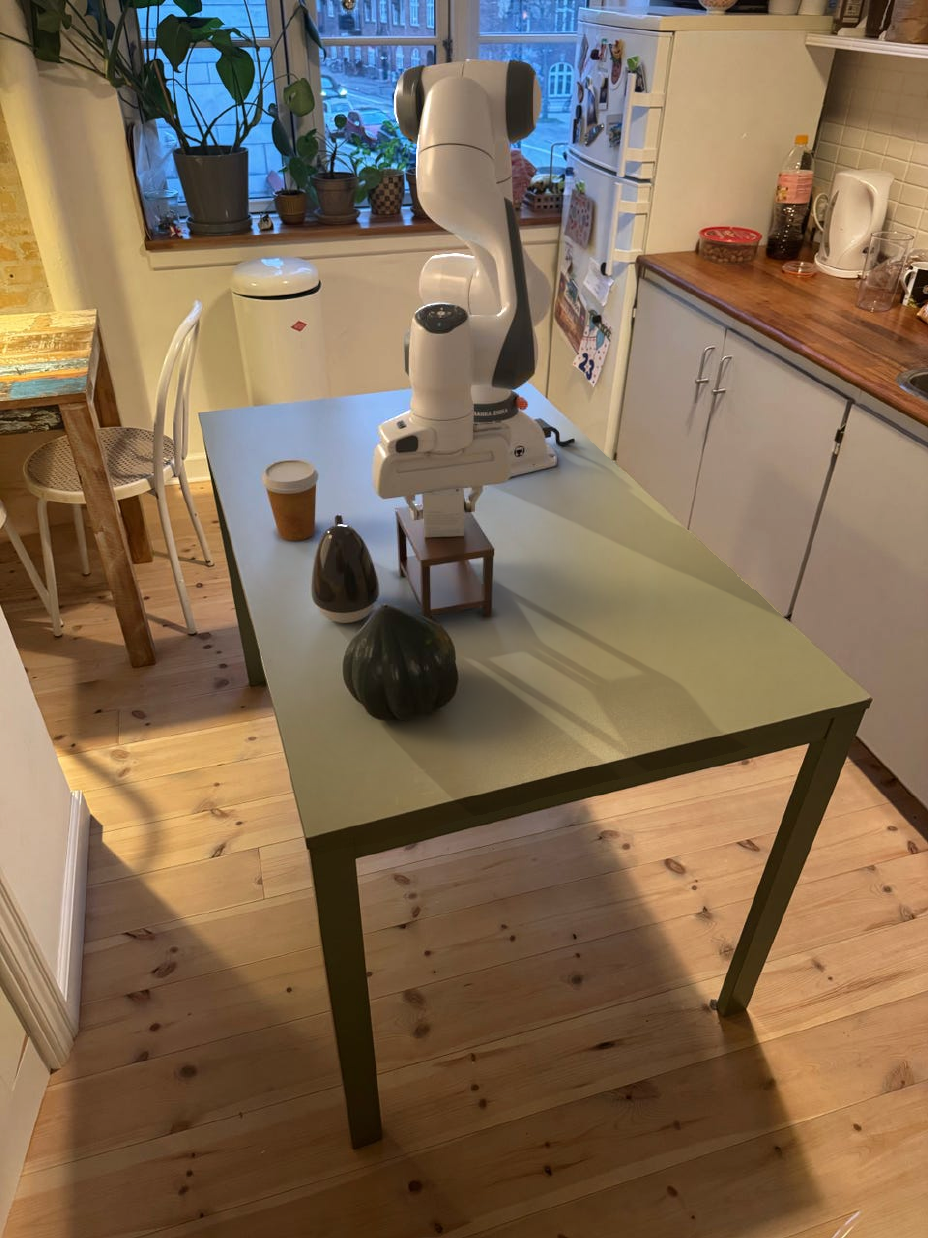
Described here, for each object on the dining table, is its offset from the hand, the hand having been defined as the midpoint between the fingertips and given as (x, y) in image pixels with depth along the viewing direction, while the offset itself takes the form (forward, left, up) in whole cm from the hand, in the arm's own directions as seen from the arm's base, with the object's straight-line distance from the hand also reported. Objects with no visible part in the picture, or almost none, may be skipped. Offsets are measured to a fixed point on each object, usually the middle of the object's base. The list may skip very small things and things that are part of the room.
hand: (442, 514), depth 131 cm
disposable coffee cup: (+19, -26, -14) cm, 36 cm away
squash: (+12, +23, -14) cm, 30 cm away
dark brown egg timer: (+16, +1, -14) cm, 21 cm away
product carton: (0, 0, -2) cm, 3 cm away
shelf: (0, 0, -14) cm, 14 cm away
